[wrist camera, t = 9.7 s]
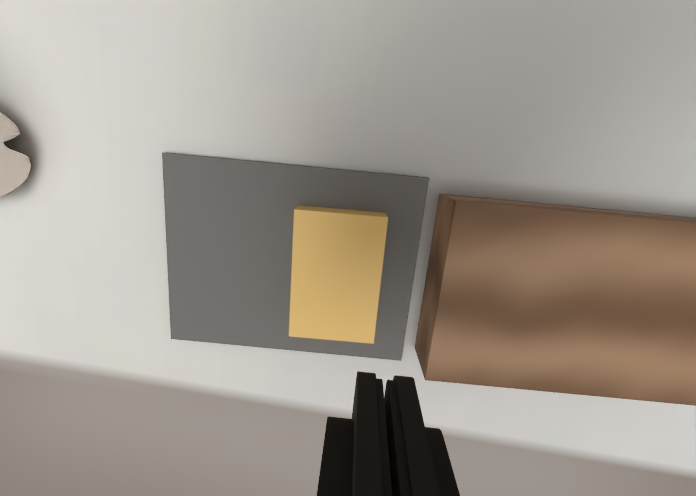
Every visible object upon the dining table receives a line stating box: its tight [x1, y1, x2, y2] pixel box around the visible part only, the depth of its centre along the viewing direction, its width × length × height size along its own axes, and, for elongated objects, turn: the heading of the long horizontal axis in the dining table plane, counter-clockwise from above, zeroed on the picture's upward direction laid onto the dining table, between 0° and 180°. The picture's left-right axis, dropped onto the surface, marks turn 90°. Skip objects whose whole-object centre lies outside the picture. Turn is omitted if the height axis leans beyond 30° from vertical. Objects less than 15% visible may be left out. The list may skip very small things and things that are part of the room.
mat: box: [162, 153, 429, 360], centre depth 25 cm, size 14×18×1 cm
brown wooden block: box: [415, 194, 696, 405], centre depth 23 cm, size 12×20×4 cm, turn 85°
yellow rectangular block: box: [289, 205, 388, 344], centre depth 23 cm, size 9×6×2 cm, turn 175°
